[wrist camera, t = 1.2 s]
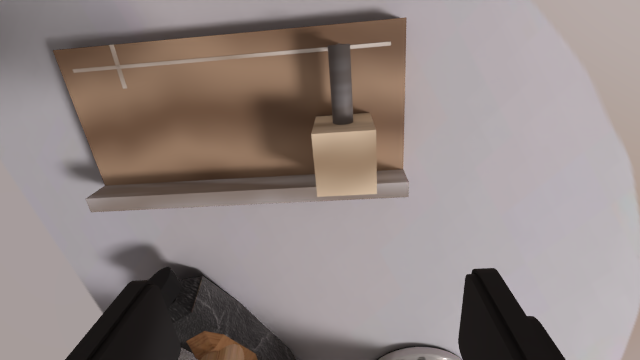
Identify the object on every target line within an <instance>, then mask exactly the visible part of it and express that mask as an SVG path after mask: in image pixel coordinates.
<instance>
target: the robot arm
mask: <svg viewBox="0 0 640 360" xmlns="http://www.w3.org/2000/svg"><path fill="white" fill-rule="evenodd" d="M458 343H459V349H460V353H461V356H462V358H463V360H565V358H564V357H563V355H562V354H561V352H560V351H559V349H558V348H557V346H556V345H555V344H554V342H553V341H552V339H551V338H550V336H549V335H548V333H547V332H546V330H545V329H544V327H543V326H542V324H541V323H540V322H539V321H538V320H537V319H536V318H535V317H533V316H526V314H525V313H524V311H523V310H522V308H521V307H520V305H519V303H518V302H517V300H516V299H515V297H514V296H513V294H512V293H511V291H510V290H509V288H508V286H507V285H506V283H505V282H504V280H503V279H502V277H501V276H500V274H499V273H498V271H497V270H496V269H494V268H487V269H473V270H472V274H467V275H466V278H465V286H464V295H463V304H462V312H461V321H460V330H459V339H458ZM180 350H181V346H180V342H179V339H178V337H177V334H176V331H175V329H174V326H173V323H172V321H171V318H170V315H169V313H168V310H167V307H166V305H165V302H164V299H163V297H162V294H161V291H160V288H159V287H158V286H157V285H155V284H154V282H153V281H150V280H144V281H131V282H130V283H128V284H127V286H126V287H125V288H124V289H123V290H122V292H121V293H120V294H119V295H118V296H117V298H116V299H115V300H114V301H113V303H112V304H111V305H110V306H109V307H108V309H107V310H106V311H105V312H104V313H103V315H102V316H101V317H100V318H99V319H98V321H97V322H96V323H95V324H94V325H93V327H92V328H91V329H90V330H89V332H88V333H87V334H86V335H85V337H84V338H83V339H82V340H81V341H80V342H79V344H78V345H77V346H76V347H75V349H74V350H73V351H72V352H71V353H70V355H69V356H68V357H67V358H66V359H65V360H178V358H179V355H180ZM378 360H462V359H460V358H459V357H458V356H456V355H454V354H452V353H450V352H447V351H444V350H441V349H437V348H430V347H412V348H405V349H400V350H396V351H394V352H391V353H389V354H386V355H385V356H383V357H381V358H380V359H378Z"/></svg>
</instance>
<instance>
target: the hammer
mask: <svg viewBox="0 0 640 360" xmlns="http://www.w3.org/2000/svg"><path fill="white" fill-rule="evenodd" d="M149 280H150V281H153V282H154V284H155V285H157V286H158V287H159V288H160V291H161V294H162V297H163V299H164V302H165V305H166V307H167V310H168V313H169V315H170V318H171V321H172V323H173V326H174V329H175V331H176V334H177V337H178V339H179V342H180V346H181V347H182V348H184V349H186V350H188V351H190V352H192V353H193V354H194V356H195V358H196V359H198V360H296V359H295V357H294V355H293V354H292V352H291V351H290V350H289V348H288V347H287V346H286V345H284V344H283V343H282V342H281V341H280V340H279V339H278V338H277V337H276V336H275V335H274V334H272V333H271V332H270V331H269V330H268V329H267V328H266V327H265V326H264V325H263V324H262V323H261V322H260V321H259V320H258V319H257V318H256V317H255V316H254V315H252V314H251V313H250V312H249V311H248V310H247V309H246V308H245V307H244V306H243V305H242V304H241V303H239V302H238V301H237V300H235V299H234V298H232V297H231V296H230V295H228V294H227V293H226V292H224V291H223V290H221V289H220V288H219V287H217V286H216V285H215V284H213V283H212V282H210V281H209V280H208V279H206V278H205V277H204V276H201V277H196V278H188V279H184V280H182V281H179V279H178V278H177V277H176V275H175V274H174V273H173V271H172V270H171V269H170V268H169V267H166V268H163V269H161V270H160V271H158V272H157V273H156V274H154V275H153V276H152V277H151V278H150V279H149Z"/></svg>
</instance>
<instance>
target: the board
mask: <svg viewBox="0 0 640 360" xmlns="http://www.w3.org/2000/svg"><path fill="white" fill-rule="evenodd" d="M338 43H340V44H350V55H351V78H352V102H353V114H360V113H370V114H371V117H372V120H373V123H374V125H375V128H376V157H377V194H366V195H346V196H325V197H317V189H316V178H315V168H314V158H313V148H312V137H311V133H312V129H313V126H314V122H315V118H316V117H317V116H332V104H331V89H330V75H329V60H328V46H329V45H336V44H338ZM53 52H54V55H55V58H56V60H57V63H58V65H59V68H60V71H61V73H62V76H63V78H64V81H65V83H66V86H67V89H68V91H69V94H70V96H71V99H72V102H73V104H74V107H75V109H76V112H77V114H78V117H79V120H80V122H81V125H82V127H83V130H84V132H85V135H86V138H87V140H88V143H89V145H90V148H91V151H92V153H93V156H94V158H95V161H96V163H97V166H98V169H99V171H100V174H101V176H102V179H103V182H104V184H105V186H104V187H102V188H101V189H99V190H98V191H97V192H95V193H94V194H92V195H91V196H89V197H88V198H86V201H87V204H88V206H89V208H90V211H91V212H104V211H125V210H145V209H166V208H187V207H208V206H229V205H249V204H270V203H291V202H312V201H333V200H353V199H374V198H395V197H408V194H409V181H408V179H407V177H406V175H405V172H404V170H403V151H404V105H405V58H406V18H396V19H386V20H375V21H364V22H353V23H342V24H332V25H321V26H310V27H299V28H289V29H278V30H267V31H256V32H245V33H235V34H224V35H213V36H202V37H191V38H181V39H170V40H159V41H148V42H137V43H127V44H116V45H105V46H94V47H83V48H73V49H62V50H53Z"/></svg>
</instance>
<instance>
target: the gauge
mask: <svg viewBox="0 0 640 360" xmlns="http://www.w3.org/2000/svg"><path fill="white" fill-rule="evenodd" d="M328 60H329V75H330V89H331V104H332V116H317V117H316V118H315V122H314V126H313V129H312V133H311V137H312V148H313V158H314V168H315V178H316V189H317V197H325V196H346V195H366V194H377V157H376V128H375V125H374V123H373V120H372V117H371V114H370V113H360V114H353V102H352V78H351V55H350V44H340V43H338V44H336V45H329V46H328Z"/></svg>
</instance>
